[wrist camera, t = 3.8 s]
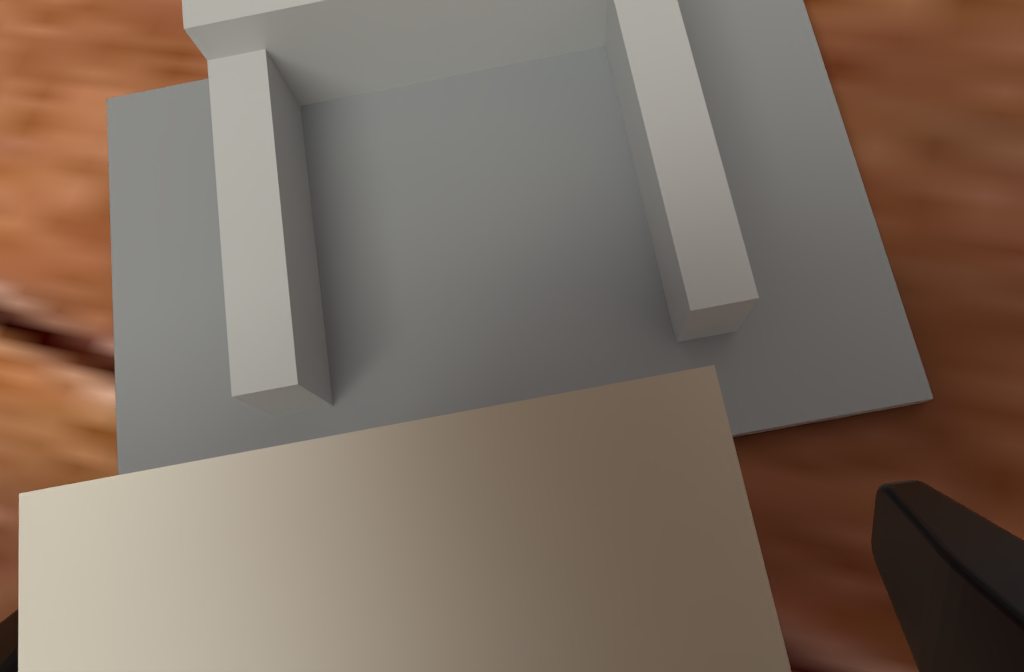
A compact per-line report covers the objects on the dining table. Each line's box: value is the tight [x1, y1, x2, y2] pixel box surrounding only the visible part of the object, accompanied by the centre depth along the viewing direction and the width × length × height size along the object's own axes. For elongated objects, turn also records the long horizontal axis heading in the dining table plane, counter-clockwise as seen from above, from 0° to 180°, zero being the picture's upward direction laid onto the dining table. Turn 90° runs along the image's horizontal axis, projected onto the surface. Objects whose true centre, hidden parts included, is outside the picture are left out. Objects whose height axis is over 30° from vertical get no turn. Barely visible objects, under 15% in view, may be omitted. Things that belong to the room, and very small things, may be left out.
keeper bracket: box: [107, 0, 934, 475], centre depth 15 cm, size 16×10×4 cm, turn 100°
